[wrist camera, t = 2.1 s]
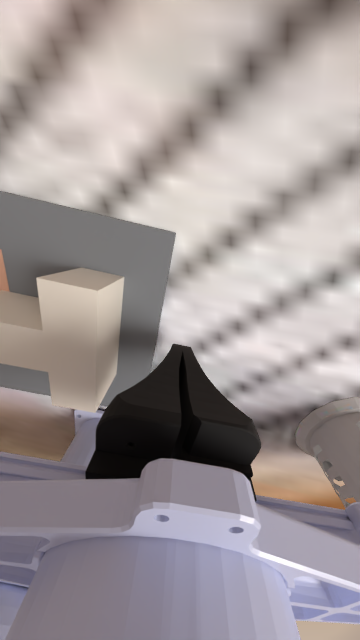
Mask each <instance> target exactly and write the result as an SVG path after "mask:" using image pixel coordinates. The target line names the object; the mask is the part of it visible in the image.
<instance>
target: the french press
mask: <svg viewBox="0 0 360 640" xmlns="http://www.w3.org/2000/svg"><path fill="white" fill-rule="evenodd" d="M295 438H296V443H297V446H299V447H300V448H301V449H302V450H303V451H304V452H305V453H307V454H309V455H311V456H313V457H315V458H316V460H317V461H318V463H319V464H320V466H321V468H322V469H323V471H324V473H325V472H326V473H327V475H328V476H327V475H326V474H325V475H326V476H327V478H328V479H329V481H330V482H331V484H332V486H333V488H334V490H335V492H336V490H337V491H338V492H339V494H338V493H337V492H336V493H337V495H338V496H339V497H340V499H341V501H342V503H343V504H344V506H345V508H347V507H348V506H349V505H350V503H348V502H346V501H345V499H347V498H352V497H354V499H355V500H356V502H360V397H352V398H347V399H342V400H338V401H333V402H330V403H328V404H326V405H324V406H322V407H320V408H318V409H316V410H314V411H312V412H311V413H310V414H309V415H308V416H307V417H305V418H304V419H303V420H302V421H301V422H300V424H299V426H298V428H297V430H296V432H295ZM333 479H336V480H338V481H342V480H343V482H344V483H345V485H344V486H342V487H340V486H338V485H337V484H335V483H334V482H333ZM335 488H336V489H335Z"/></svg>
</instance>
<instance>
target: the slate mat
mask: <svg viewBox="0 0 360 640" xmlns="http://www.w3.org/2000/svg"><path fill="white" fill-rule="evenodd" d="M175 235H176V233H175V232H170V231H166V230H162V229H158V228H154V227H149V226H145V225H141V224H137V223H133V222H128V221H124V220H120V219H116V218H112V217H107V216H103V215H99V214H95V213H91V212H86V211H82V210H78V209H74V208H70V207H65V206H61V205H57V204H53V203H49V202H44V201H40V200H36V199H32V198H28V197H23V196H19V195H15V194H11V193H7V192H2V191H0V291H1V290H4V291H9V292H13V293H18V294H23V295H28V296H33V297H37V298H39V296H38V288H37V280H36V278H37V277H41V276H46V275H50V274H55V273H59V272H64V271H68V270H73V269H77V268H86V269H91V270H96V271H100V272H105V273H109V274H114V275H118V276H123V277H124V287H123V299H122V312H121V324H120V336H119V349H118V361H117V373H116V376H115V378H114V379H113V381H112V383H111V385H110V387H109V389H108V391H107V392H106V394H105V396H104V398H103V400H102V402H101V403H100V405H102V406H108V405H109V404H110V403H111V401H112V400H113V399H114V398H115V396H116V395H117V394H119V393H121V392H123V391H125V390H127V389H129V388H131V387H132V386H134V385H135V384H137V383H138V382H140V381H141V380H143V379H144V378H145V377H147V376H148V375H149V374H150V372H151V366H152V361H153V355H154V350H155V344H156V339H157V333H158V328H159V323H160V317H161V312H162V306H163V301H164V295H165V290H166V284H167V279H168V273H169V268H170V263H171V257H172V252H173V246H174V241H175ZM0 387H5V388H11V389H16V390H22V391H27V392H32V393H38V394H43V395H49V396H51V391H50V383H49V375H48V372H44V371H39V370H33V369H28V368H23V367H17V366H12V365H7V364H1V363H0Z"/></svg>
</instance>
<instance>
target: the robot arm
mask: <svg viewBox="0 0 360 640" xmlns="http://www.w3.org/2000/svg"><path fill="white" fill-rule="evenodd" d="M74 419H75V437H74V439H73V441H72V442H71V444H70V446H69V447H68V449H67V451H66V452H65V454H64V456H63V458H62V459H61V461H60V462H59V461H53V460H47V459H41V458H35V457H30V456H24V455H18V454H12V453H6V452H0V640H301V639H300V636H299V631H298V628H297V625H296V621H295V620H299V621H316V622H334V623H349V624H360V502H356V503H352V504H350V505H349V506H348V507H347V508H346V509H345V510H341V509H335V508H329V507H323V506H318V505H312V504H306V503H300V502H294V501H288V500H282V499H276V498H271V497H265V496H259V495H255V492H254V488H253V484H252V481H251V477H252V476H253V472H252V469H251V465H250V464H251V463H252V461H253V460H254V459H255V457H256V456H257V454H258V453H259V450H260V448H261V442H260V439H259V436H258V433H257V431H256V428H255V426H254V424H253V421H252V419H250V418H249V417H248V416H247V415H245V414H244V413H243V412H241V411H240V410H239V409H237V408H236V407H235V406H234V405H233V404H232V403H231V402H229V401H228V400H227V399H226V398H225V397H224V396H223V395H222V394H221V393H220V392H219V391H218V390H217V389H216V387H215V386H214V385H213V384H212V383H211V381H210V380H209V379H208V378H207V376H206V375H205V373H204V372H203V370H202V368H201V367H200V365H199V363H198V361H197V359H196V357H195V355H194V353H193V351H192V349H191V347H187V346H182V345H177V344H173V345H172V347H171V350H170V351H169V353H168V354H167V356H166V357H165V359H164V360H163V361H162V362H161V363H160V365H159V366H158V367H157V368H156V369H155V370H154V371H153V372H151V373H150V374H149V375H148V376H147V377H145V378H144V379H143V380H141V381H140V382H138V383H137V384H135V385H134V386H132V387H131V388H129V389H127V390H125V391H123V392H121V393H119V394H117V395H116V396H115V398H114V399H113V400H112V401H111V403H110V404H109V405H108V407H107V408H106V410H105V411H102V410H97V411H96V413H93V412H87V411H82V410H76V409H75V410H74Z"/></svg>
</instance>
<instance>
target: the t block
mask: <svg viewBox="0 0 360 640" xmlns="http://www.w3.org/2000/svg"><path fill="white" fill-rule="evenodd" d="M36 280H37V288H38V296H39V298H37V297H33V296H28V295H23V294H18V293H13V292H9V291H4V290H1V291H0V363H1V364H7V365H12V366H17V367H23V368H28V369H33V370H39V371H44V372H48V375H49V383H50V391H51V399H52V405H53V406H59V407H65V408H70V409H76V410H82V411H87V412H93V413H96V411H97V409H98V407H99V405H100V403H101V402H102V400H103V398H104V396H105V394H106V392H107V391H108V389H109V387H110V385H111V383H112V381H113V379H114V378H115V376H116V373H117V361H118V349H119V336H120V324H121V312H122V299H123V287H124V277H123V276H118V275H114V274H109V273H105V272H100V271H96V270H91V269H86V268H77V269H73V270H68V271H64V272H59V273H55V274H50V275H46V276H41V277H37V278H36Z"/></svg>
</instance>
